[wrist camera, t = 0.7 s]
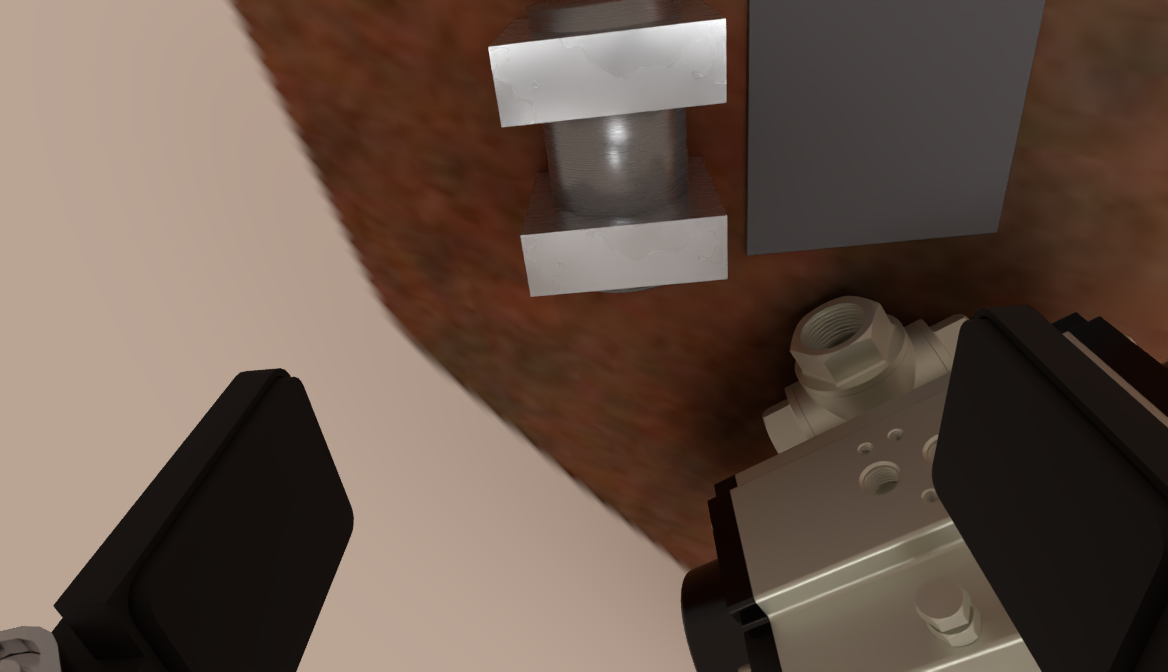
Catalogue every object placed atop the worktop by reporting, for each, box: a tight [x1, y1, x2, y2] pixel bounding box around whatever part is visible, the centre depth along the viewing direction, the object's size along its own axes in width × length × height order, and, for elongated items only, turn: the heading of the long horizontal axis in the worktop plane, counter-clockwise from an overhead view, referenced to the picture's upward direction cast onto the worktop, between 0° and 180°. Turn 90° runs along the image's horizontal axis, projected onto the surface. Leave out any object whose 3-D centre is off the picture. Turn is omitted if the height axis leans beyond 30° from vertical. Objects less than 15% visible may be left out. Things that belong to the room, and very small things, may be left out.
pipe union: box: [488, 0, 728, 297], centre depth 23 cm, size 9×6×6 cm
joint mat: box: [746, 0, 1046, 256], centre depth 26 cm, size 10×10×1 cm
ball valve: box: [681, 296, 1168, 672], centre depth 24 cm, size 18×8×18 cm, turn 125°
